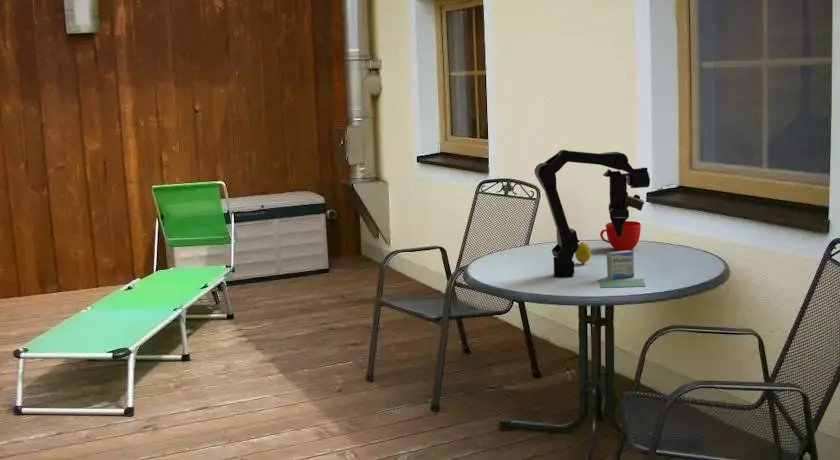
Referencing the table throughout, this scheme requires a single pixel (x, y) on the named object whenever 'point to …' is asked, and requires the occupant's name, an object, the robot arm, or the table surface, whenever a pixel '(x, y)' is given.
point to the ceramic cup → (623, 235)
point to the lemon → (583, 253)
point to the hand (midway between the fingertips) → (618, 234)
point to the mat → (622, 283)
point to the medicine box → (620, 264)
